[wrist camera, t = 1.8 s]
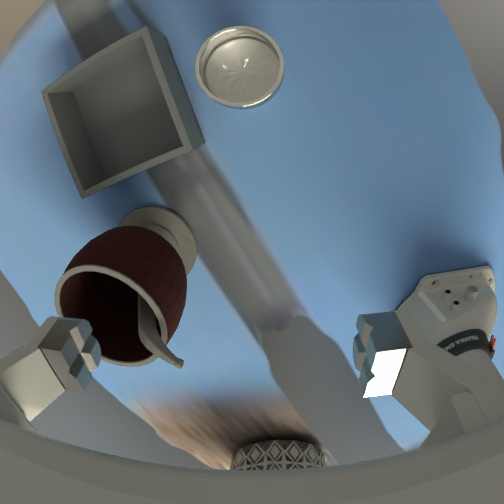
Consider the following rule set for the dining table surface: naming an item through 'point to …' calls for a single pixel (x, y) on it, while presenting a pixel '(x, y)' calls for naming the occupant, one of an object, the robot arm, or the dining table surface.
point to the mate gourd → (132, 286)
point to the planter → (277, 456)
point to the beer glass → (240, 67)
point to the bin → (122, 112)
